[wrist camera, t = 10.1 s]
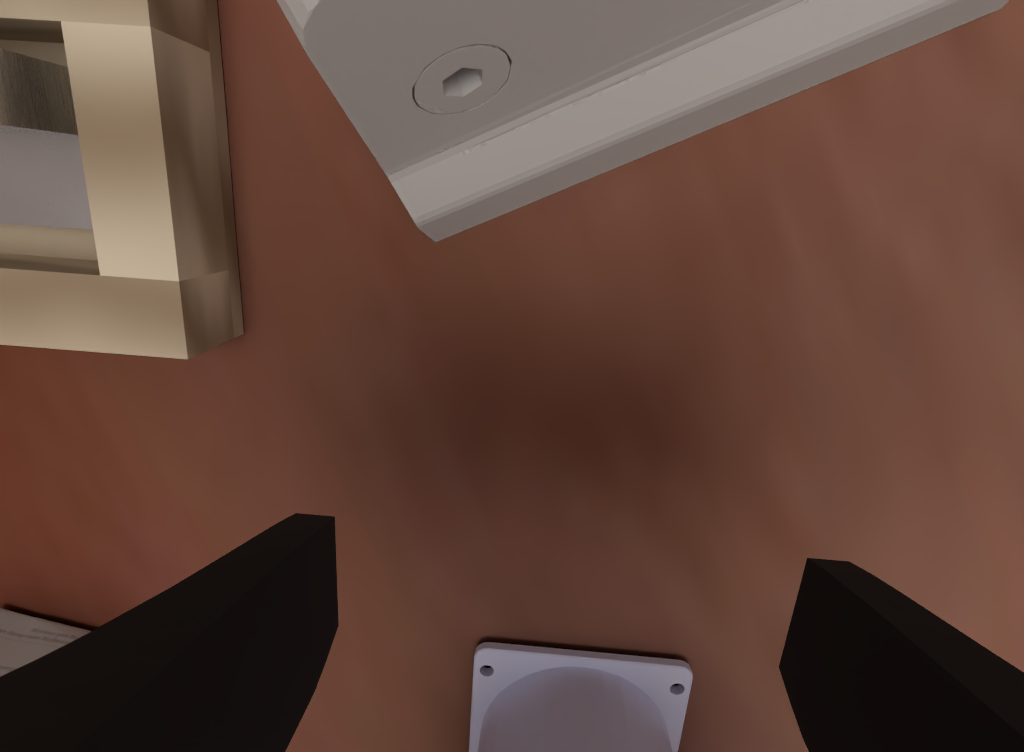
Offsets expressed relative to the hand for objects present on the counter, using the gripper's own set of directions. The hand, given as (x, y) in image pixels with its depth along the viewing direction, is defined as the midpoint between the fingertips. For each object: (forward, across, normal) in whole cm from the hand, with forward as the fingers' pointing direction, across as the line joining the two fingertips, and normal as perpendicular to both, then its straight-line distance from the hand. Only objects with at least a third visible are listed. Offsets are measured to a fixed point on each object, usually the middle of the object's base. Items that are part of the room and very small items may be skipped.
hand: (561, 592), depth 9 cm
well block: (+10, +15, -6) cm, 19 cm away
